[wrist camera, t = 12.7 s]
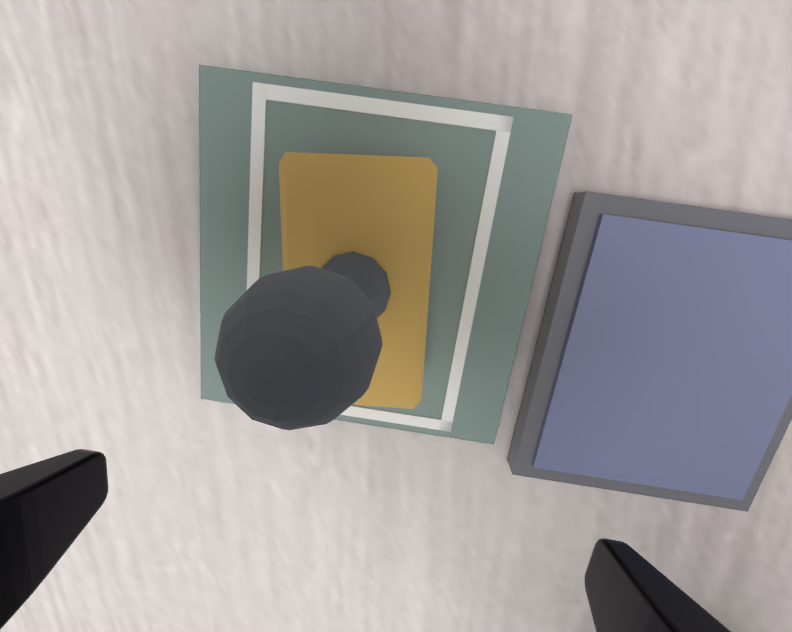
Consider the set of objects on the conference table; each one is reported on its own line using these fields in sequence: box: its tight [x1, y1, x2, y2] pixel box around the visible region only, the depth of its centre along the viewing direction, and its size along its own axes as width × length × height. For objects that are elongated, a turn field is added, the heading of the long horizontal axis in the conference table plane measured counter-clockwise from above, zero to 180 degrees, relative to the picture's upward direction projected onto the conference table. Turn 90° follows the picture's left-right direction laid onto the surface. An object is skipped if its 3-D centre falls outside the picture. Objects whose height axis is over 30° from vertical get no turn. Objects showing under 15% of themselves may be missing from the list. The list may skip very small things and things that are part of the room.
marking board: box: [199, 65, 572, 444], centre depth 18 cm, size 16×16×1 cm
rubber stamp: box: [214, 152, 438, 430], centre depth 12 cm, size 10×6×12 cm, turn 178°
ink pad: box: [507, 192, 792, 511], centre depth 18 cm, size 12×14×2 cm
